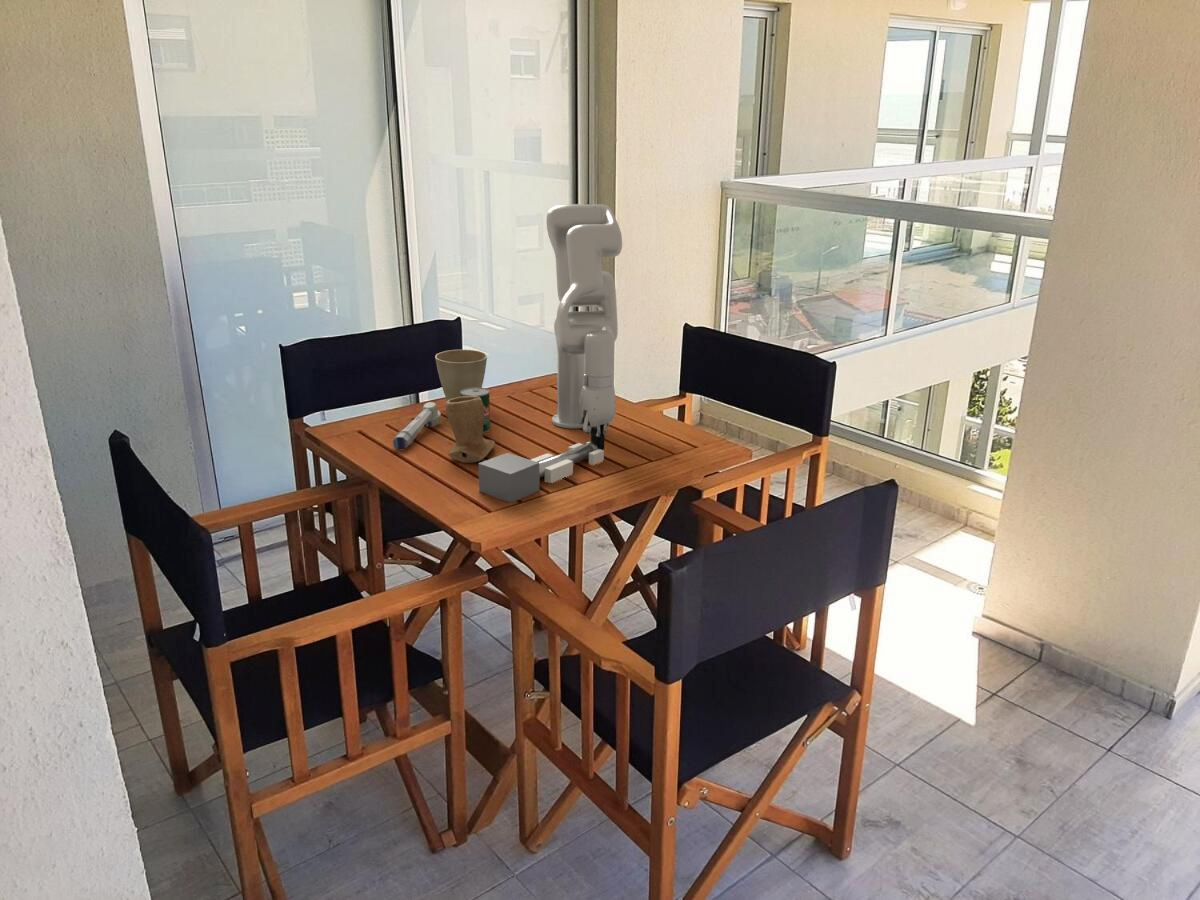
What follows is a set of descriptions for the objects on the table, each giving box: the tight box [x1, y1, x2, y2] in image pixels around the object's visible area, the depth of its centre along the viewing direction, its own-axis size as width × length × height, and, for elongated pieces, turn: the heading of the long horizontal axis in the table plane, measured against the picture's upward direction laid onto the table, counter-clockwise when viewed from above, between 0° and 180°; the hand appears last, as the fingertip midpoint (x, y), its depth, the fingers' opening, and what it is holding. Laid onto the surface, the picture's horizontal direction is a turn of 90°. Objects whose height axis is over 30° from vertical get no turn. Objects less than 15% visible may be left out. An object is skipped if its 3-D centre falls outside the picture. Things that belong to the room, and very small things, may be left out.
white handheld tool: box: [392, 401, 442, 450], centre depth 254 cm, size 5×7×25 cm
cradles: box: [530, 442, 605, 484], centre depth 232 cm, size 20×8×4 cm, turn 141°
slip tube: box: [539, 440, 598, 479], centre depth 231 cm, size 24×4×4 cm, turn 141°
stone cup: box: [445, 396, 496, 464], centre depth 238 cm, size 15×12×15 cm
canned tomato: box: [460, 387, 491, 434], centre depth 257 cm, size 8×8×11 cm
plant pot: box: [434, 349, 488, 402], centre depth 275 cm, size 15×15×16 cm
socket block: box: [478, 452, 540, 504], centre depth 217 cm, size 10×10×7 cm
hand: (597, 449), depth 241 cm, fingers closed
